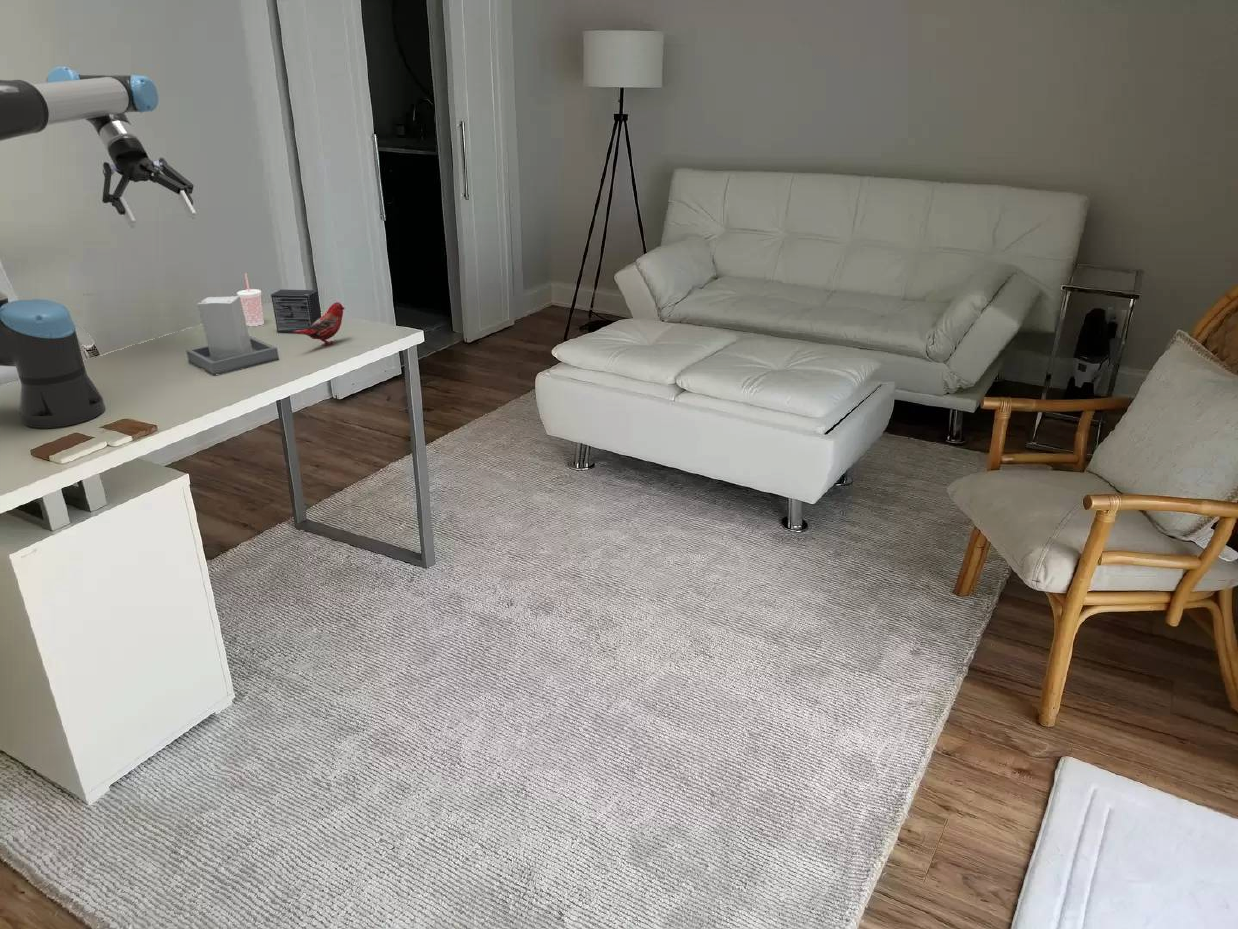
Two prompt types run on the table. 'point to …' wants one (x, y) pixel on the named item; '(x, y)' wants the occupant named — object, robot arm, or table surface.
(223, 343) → the skincare box
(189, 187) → the robot arm
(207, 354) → the tray
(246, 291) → the beverage cup
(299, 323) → the small box
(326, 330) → the decorative bird figurine
